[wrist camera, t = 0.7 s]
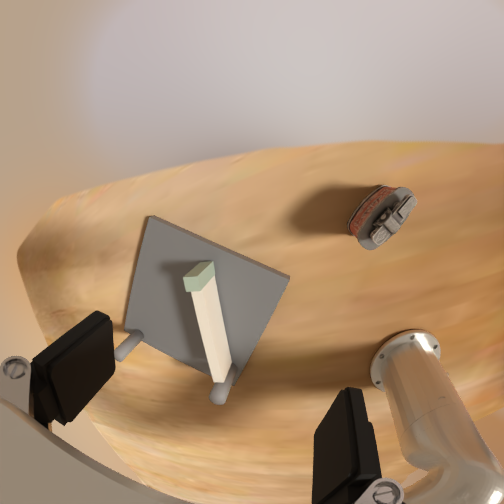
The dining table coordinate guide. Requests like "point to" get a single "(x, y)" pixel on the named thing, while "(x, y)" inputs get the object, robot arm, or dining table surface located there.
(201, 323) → the pale rectangular block
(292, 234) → the dining table surface
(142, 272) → the base
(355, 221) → the lighter
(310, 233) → the dining table surface
